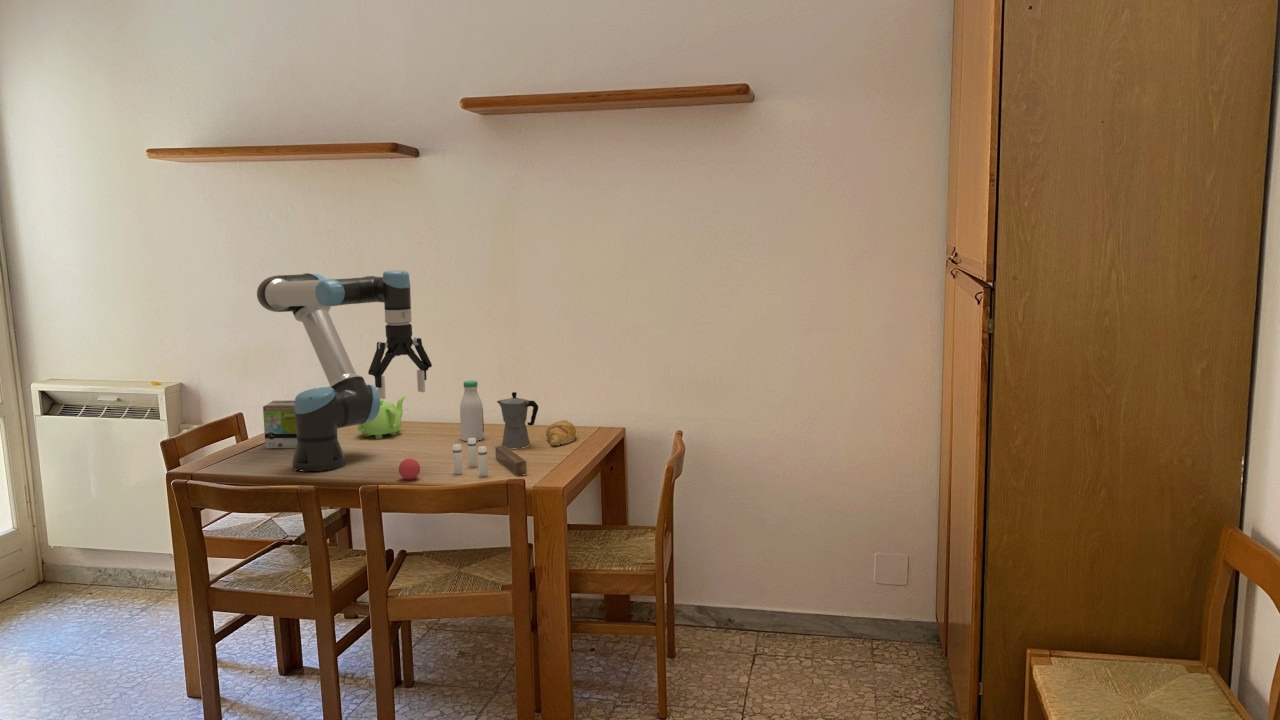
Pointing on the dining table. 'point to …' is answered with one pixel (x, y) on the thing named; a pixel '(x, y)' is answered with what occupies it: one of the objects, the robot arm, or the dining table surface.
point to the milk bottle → (471, 413)
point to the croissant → (560, 432)
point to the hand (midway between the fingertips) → (402, 395)
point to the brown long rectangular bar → (511, 460)
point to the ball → (409, 469)
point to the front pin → (457, 458)
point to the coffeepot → (516, 421)
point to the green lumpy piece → (384, 420)
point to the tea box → (280, 424)
